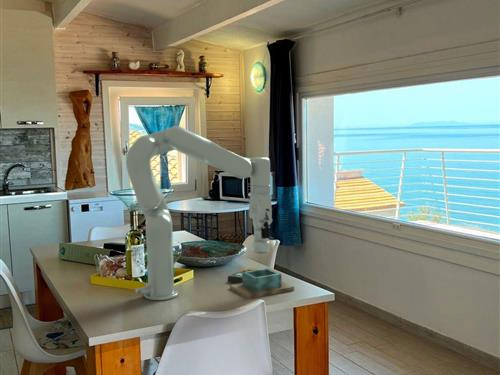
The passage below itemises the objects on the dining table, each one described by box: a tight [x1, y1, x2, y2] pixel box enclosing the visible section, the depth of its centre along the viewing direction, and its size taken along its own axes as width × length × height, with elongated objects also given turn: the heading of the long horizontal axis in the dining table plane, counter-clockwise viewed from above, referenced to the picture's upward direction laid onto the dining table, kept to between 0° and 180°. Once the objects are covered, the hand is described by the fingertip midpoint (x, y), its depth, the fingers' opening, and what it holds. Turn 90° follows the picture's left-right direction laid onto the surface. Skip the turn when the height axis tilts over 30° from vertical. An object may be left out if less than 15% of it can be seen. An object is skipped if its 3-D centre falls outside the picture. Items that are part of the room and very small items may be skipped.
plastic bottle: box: [252, 212, 271, 255], centre depth 209 cm, size 6×7×20 cm
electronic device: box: [227, 267, 259, 284], centre depth 227 cm, size 8×16×3 cm, turn 149°
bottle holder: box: [229, 267, 295, 300], centre depth 211 cm, size 20×15×6 cm
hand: (261, 236), depth 210 cm, fingers closed on plastic bottle, 5 cm apart
